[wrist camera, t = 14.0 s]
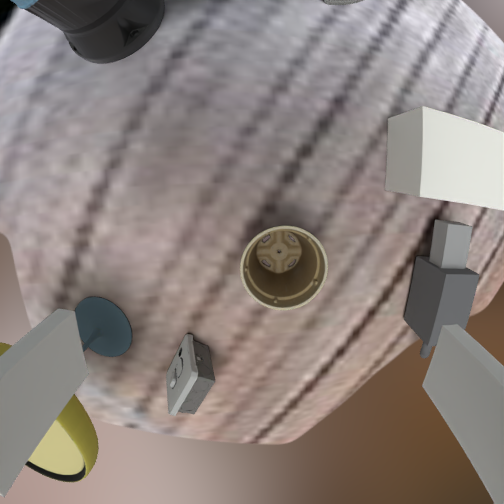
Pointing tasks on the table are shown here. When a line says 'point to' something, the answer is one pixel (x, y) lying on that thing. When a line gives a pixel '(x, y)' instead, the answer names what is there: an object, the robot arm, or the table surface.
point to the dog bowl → (341, 2)
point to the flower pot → (284, 268)
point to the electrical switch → (189, 377)
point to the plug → (442, 284)
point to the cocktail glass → (74, 415)
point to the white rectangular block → (445, 158)
